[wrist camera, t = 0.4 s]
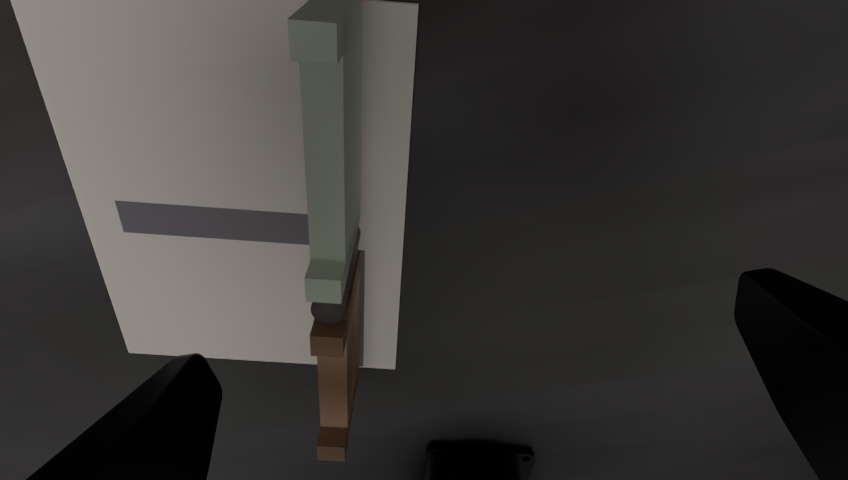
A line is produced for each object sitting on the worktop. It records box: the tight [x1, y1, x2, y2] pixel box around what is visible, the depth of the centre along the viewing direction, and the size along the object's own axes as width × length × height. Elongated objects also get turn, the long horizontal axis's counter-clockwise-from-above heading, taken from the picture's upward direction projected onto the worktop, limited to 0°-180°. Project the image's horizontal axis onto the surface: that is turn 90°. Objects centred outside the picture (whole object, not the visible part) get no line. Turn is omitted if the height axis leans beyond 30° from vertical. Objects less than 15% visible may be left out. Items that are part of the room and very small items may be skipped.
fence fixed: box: [310, 227, 361, 462], centre depth 23 cm, size 9×1×6 cm, turn 176°
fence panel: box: [287, 0, 362, 304], centre depth 18 cm, size 9×1×6 cm, turn 176°
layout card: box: [11, 0, 419, 369], centre depth 23 cm, size 18×14×1 cm
